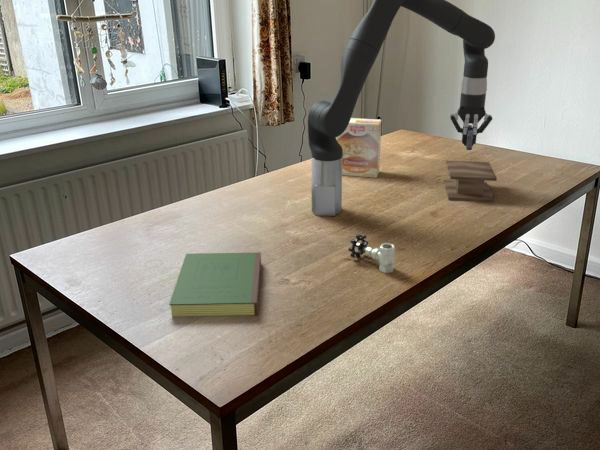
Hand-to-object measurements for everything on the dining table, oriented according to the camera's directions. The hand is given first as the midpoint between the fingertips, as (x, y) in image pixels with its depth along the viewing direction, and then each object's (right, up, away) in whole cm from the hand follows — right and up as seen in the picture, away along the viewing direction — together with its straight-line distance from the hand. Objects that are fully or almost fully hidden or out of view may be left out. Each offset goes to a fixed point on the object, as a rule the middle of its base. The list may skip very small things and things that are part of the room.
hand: (468, 145), depth 192 cm
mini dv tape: (0, -1, 0) cm, 1 cm away
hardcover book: (-73, -41, -51) cm, 98 cm away
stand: (+1, -15, +5) cm, 16 cm away
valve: (-35, -36, -41) cm, 65 cm away
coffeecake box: (-33, -7, +23) cm, 41 cm away
